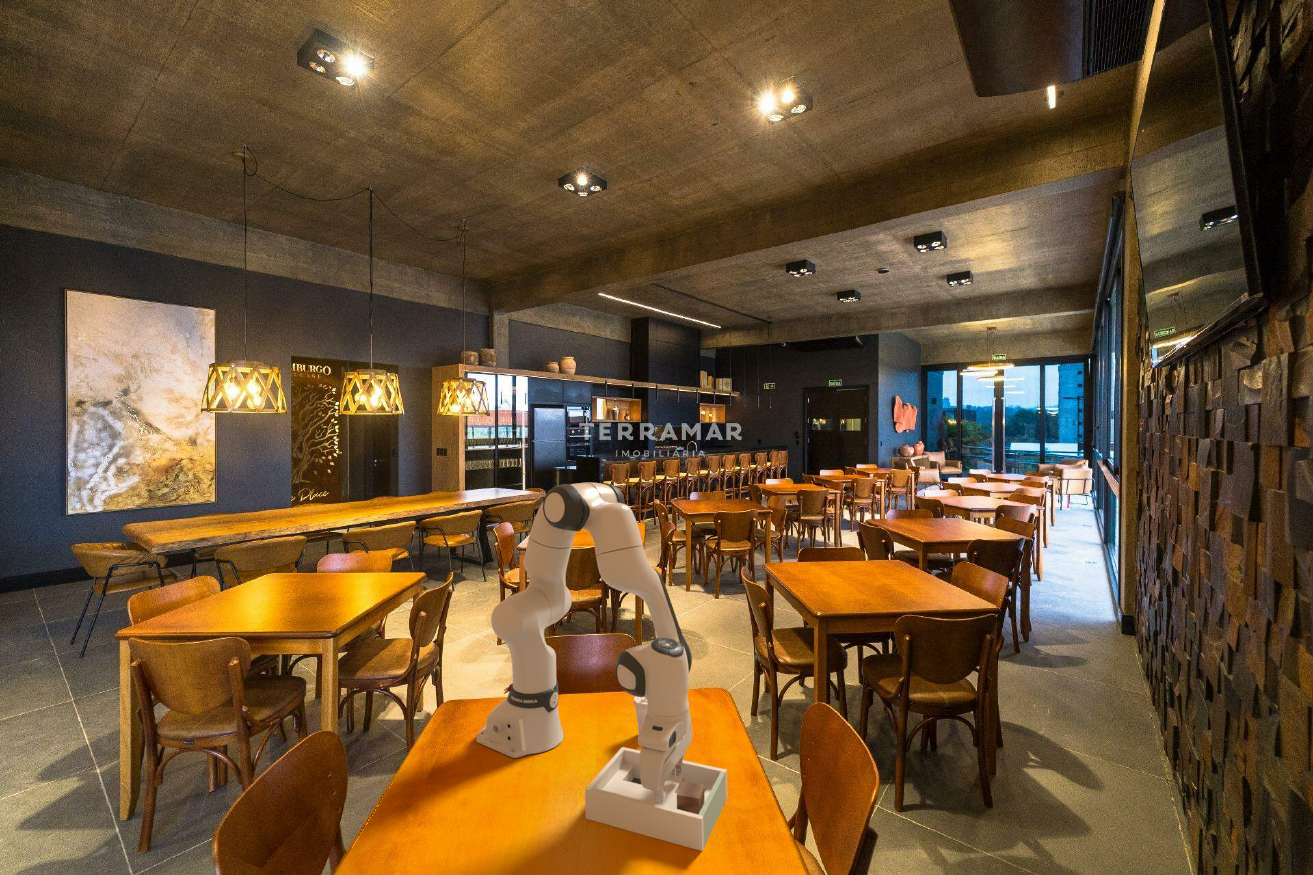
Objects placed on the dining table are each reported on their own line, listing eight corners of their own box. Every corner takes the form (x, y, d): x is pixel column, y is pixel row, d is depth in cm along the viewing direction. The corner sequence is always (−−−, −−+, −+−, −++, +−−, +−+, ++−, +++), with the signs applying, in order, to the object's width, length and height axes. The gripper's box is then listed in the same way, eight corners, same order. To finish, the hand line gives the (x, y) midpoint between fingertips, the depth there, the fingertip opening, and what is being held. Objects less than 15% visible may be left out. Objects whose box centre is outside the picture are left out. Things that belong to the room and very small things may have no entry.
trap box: (585, 818, 116) (585, 788, 116) (622, 772, 132) (622, 746, 132) (702, 851, 107) (701, 819, 107) (727, 797, 122) (726, 769, 122)
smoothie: (639, 744, 144) (638, 689, 144) (630, 732, 150) (629, 679, 150) (662, 738, 147) (661, 684, 147) (652, 727, 152) (652, 674, 152)
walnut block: (677, 817, 112) (676, 794, 112) (682, 803, 116) (682, 781, 116) (699, 821, 110) (699, 798, 110) (704, 807, 115) (704, 784, 115)
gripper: (672, 696, 130) (672, 757, 130) (633, 741, 111) (634, 812, 111) (698, 701, 127) (699, 763, 127) (663, 747, 108) (664, 820, 108)
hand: (668, 786), depth 119 cm, fingers open, 8 cm apart
